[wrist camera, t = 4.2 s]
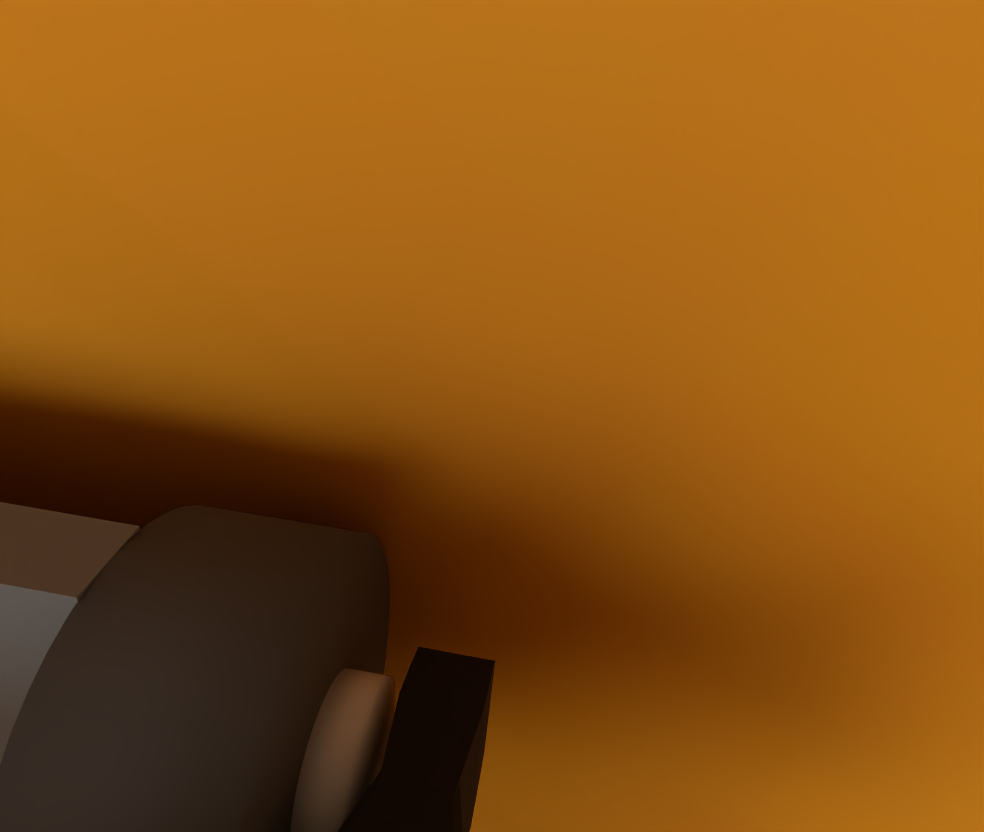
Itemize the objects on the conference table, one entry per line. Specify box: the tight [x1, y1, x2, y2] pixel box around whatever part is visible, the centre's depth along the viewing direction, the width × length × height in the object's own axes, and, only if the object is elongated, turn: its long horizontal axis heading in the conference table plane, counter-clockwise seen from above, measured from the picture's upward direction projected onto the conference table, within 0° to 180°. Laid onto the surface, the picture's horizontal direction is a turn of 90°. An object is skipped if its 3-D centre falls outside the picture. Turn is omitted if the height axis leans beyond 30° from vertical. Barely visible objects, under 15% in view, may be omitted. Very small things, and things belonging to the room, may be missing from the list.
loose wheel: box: [0, 505, 395, 832], centre depth 10 cm, size 6×3×6 cm, turn 176°
